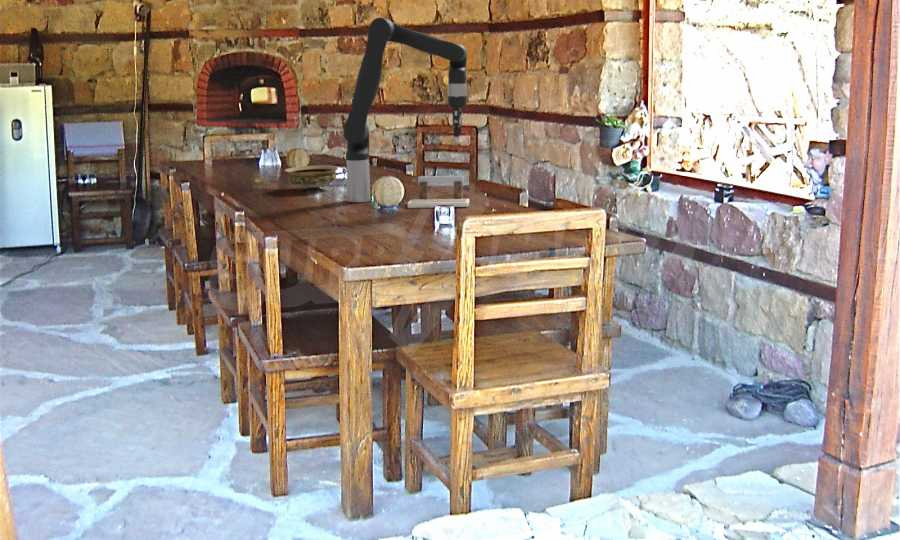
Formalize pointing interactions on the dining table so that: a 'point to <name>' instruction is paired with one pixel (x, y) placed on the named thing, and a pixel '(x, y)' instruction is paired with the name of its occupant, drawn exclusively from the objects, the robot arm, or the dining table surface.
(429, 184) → the rail
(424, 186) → the rack
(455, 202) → the tray
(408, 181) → the dining table surface
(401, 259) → the dining table surface
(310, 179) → the ceramic bowl
